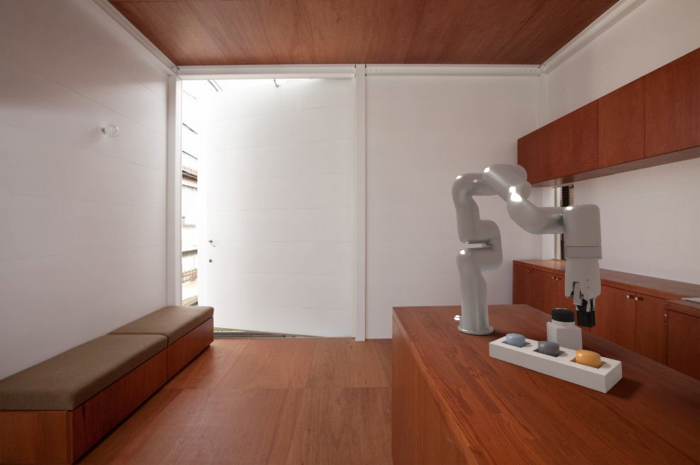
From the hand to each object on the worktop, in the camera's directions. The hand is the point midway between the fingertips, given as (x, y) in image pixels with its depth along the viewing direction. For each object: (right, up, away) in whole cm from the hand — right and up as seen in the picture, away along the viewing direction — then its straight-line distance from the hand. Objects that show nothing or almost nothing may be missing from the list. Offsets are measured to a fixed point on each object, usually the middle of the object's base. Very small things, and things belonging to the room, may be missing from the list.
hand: (586, 325), depth 77 cm
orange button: (0, -11, 0) cm, 11 cm away
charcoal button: (-5, -11, +7) cm, 14 cm away
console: (-5, -13, +7) cm, 16 cm away
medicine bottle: (+8, -13, +20) cm, 25 cm away
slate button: (-10, -11, +15) cm, 21 cm away
